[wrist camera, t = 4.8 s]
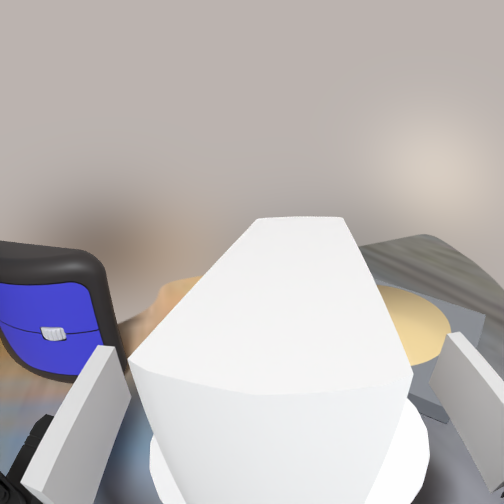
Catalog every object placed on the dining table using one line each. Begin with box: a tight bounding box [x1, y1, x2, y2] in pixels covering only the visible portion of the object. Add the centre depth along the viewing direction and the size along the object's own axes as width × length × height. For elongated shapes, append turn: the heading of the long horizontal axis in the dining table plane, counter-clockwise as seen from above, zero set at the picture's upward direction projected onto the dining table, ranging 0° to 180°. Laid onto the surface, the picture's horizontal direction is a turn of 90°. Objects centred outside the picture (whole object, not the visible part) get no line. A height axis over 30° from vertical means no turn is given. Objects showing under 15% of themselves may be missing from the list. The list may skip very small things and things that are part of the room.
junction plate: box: [374, 279, 486, 424], centre depth 24 cm, size 18×14×2 cm
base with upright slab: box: [128, 217, 430, 504], centre depth 8 cm, size 9×9×12 cm
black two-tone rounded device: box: [0, 241, 127, 383], centre depth 18 cm, size 16×5×9 cm, turn 75°
